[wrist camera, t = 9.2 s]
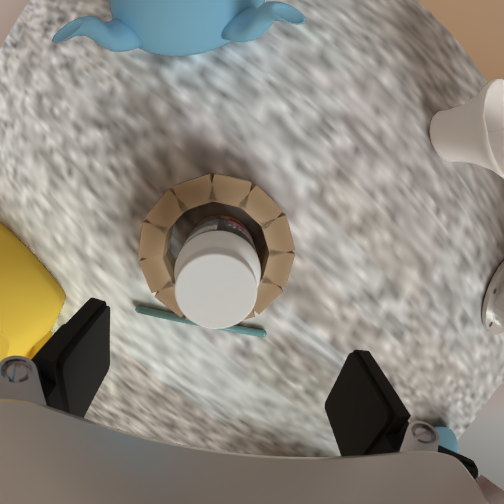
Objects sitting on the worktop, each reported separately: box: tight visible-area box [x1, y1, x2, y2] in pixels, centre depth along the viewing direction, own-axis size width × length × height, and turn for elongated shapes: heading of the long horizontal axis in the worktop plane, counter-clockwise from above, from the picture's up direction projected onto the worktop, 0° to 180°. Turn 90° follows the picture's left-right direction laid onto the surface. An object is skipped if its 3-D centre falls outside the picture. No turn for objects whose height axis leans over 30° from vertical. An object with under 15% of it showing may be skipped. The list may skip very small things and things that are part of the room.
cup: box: [429, 79, 504, 178], centre depth 20 cm, size 9×9×10 cm
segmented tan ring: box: [138, 173, 295, 321], centre depth 25 cm, size 12×12×3 cm
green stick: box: [135, 306, 267, 337], centre depth 27 cm, size 13×1×1 cm, turn 76°
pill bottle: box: [174, 215, 261, 329], centre depth 21 cm, size 6×6×10 cm
